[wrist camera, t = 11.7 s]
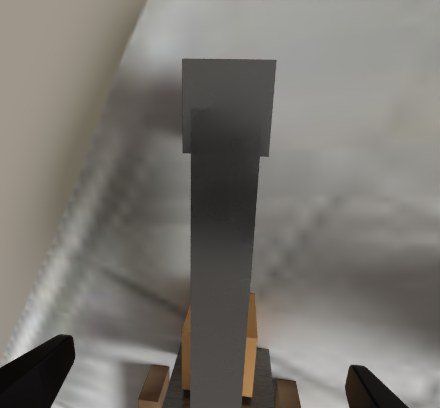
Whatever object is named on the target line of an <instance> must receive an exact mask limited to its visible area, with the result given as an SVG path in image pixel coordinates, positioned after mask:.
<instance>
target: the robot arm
mask: <svg viewBox="0 0 440 408" xmlns="http://www.w3.org/2000/svg"><path fill="white" fill-rule="evenodd" d="M74 360H75V348H74V341H73V337H72V336H71V335H63V334H60V335H57V336H55V337H54V338H52V339H50V340H48V341H46V342H45V343H43V344H41V345H39V346H38V347H36V348H34V349H32V350H31V351H29V352H27V353H25V354H24V355H22V356H20V357H18V358H17V359H15V360H13V361H11V362H10V363H8V364H6V365H4V366H3V367H1V368H0V408H51V406H52V404H53V402H54V400H55V398H56V396H57V394H58V392H59V390H60V388H61V386H62V384H63V382H64V380H65V378H66V376H67V375H68V373H69V371H70V369H71V367H72V365H73V363H74ZM345 391H346V396H347V400H348V404H349V408H409V407H408V406H407V405H405V404H404V403H403V402H402V401H401V400H400V399H399V398H398V397H397V396H396V395H395V394H394V393H393V392H392V391H391V390H390V389H389V388H388V387H386V386H385V385H384V384H383V383H382V382H381V381H380V380H379V379H378V378H377V377H376V376H375V375H374V374H373V373H372V372H371V371H370V370H368V369H367V368H366V367H365V366H361V365H351V366H350V367H349V370H348V375H347V379H346V384H345Z"/></svg>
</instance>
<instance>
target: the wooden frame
mask: <svg viewBox="0 0 440 408" xmlns="http://www.w3.org/2000/svg"><path fill="white" fill-rule="evenodd" d="M168 385H169V367H165V366H156V365H152V366H151V368H150V371H149V373H148V376H147V378H146V381H145V384H144V386H143V389H142V391H141V394H140V396H139V399H138V408H162V405H163V402H164V398H165V395H166V392H167V389H168ZM274 401H275V408H301V405H300V400H299V395H298V390H297V385H296V381H287V380H279V379H277V384H276V392H275V400H274Z"/></svg>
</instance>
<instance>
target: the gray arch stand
mask: <svg viewBox="0 0 440 408" xmlns="http://www.w3.org/2000/svg"><path fill="white" fill-rule="evenodd" d="M275 71H276V60H248V59H182V116H183V153H191V319H190V390H185V389H182V342H181V345H180V349H179V352H178V355H177V359H176V362H175V365H174V369H173V372H172V375H171V379H170V382H169V385H168V389H167V392H166V395H165V398H164V402H163V405H162V408H275V401H274V392H273V383H272V374H271V365H270V356H269V349H260V348H257V349H256V359H255V370H254V381H253V392H252V397H246V396H242V392H243V378H244V364H245V351H246V337H247V323H248V310H249V296H250V282H251V269H252V255H253V241H254V228H255V214H256V200H257V187H258V173H259V159H260V156H264V157H269V144H270V132H271V120H272V108H273V96H274V84H275Z"/></svg>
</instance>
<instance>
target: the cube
mask: <svg viewBox="0 0 440 408" xmlns="http://www.w3.org/2000/svg"><path fill="white" fill-rule="evenodd" d="M190 319H191V303H190V307H189V310H188V313H187V316H186V319H185V322H184V326H183V329H182V389H185V390H190ZM256 349H257V324H256V307H255V294H251V293H250V296H249V310H248V323H247V337H246V351H245V364H244V378H243V392H242V396H246V397H252V392H253V381H254V370H255V359H256Z"/></svg>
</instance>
